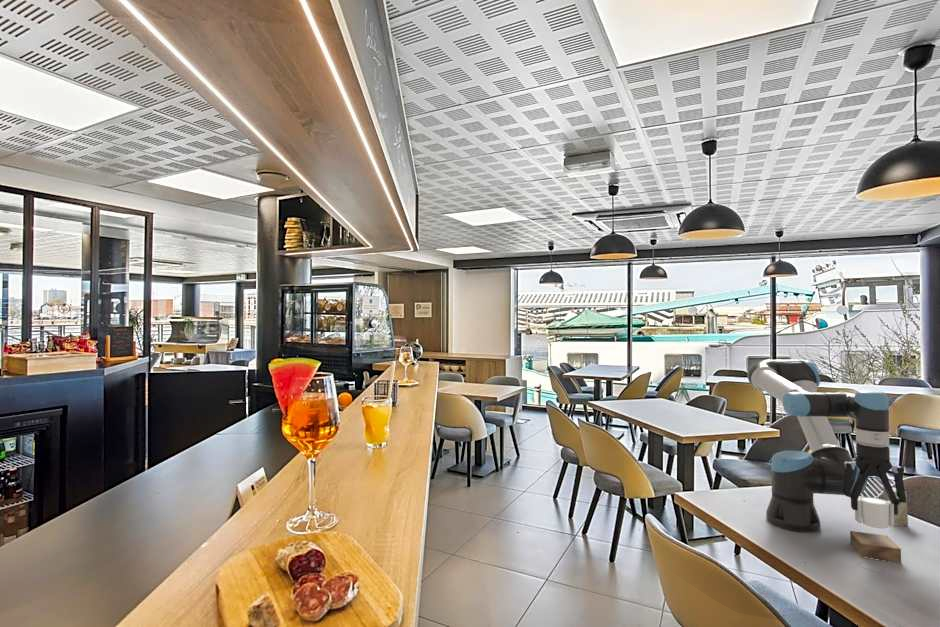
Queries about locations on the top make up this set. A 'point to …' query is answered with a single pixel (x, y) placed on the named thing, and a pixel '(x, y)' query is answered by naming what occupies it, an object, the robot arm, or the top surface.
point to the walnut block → (875, 546)
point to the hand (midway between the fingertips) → (874, 523)
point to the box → (899, 509)
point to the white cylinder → (875, 512)
